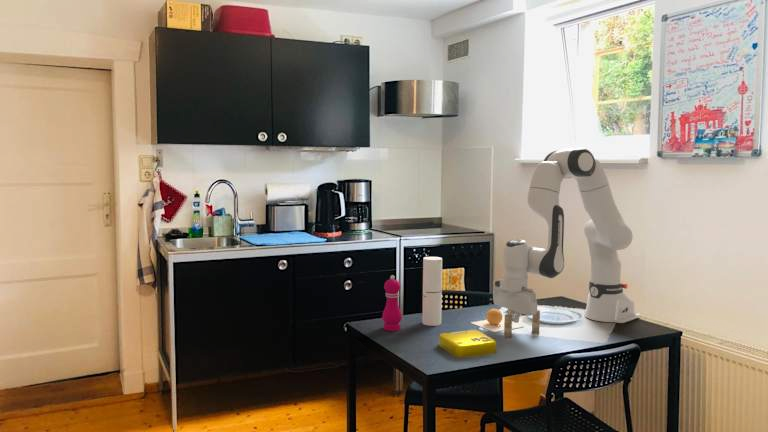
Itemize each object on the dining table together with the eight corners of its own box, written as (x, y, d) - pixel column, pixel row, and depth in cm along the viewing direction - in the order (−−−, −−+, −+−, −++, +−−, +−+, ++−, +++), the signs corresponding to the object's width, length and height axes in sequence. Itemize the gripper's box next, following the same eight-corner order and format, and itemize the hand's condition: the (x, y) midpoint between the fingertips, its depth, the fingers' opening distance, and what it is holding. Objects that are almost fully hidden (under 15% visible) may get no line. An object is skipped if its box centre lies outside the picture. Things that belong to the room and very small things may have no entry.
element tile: (475, 341, 233) (475, 327, 233) (498, 354, 219) (498, 340, 219) (437, 345, 228) (437, 332, 227) (457, 359, 214) (458, 345, 213)
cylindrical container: (435, 326, 249) (436, 260, 246) (418, 323, 253) (419, 258, 250) (444, 322, 255) (445, 257, 252) (427, 319, 259) (428, 255, 256)
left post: (508, 335, 238) (508, 313, 237) (513, 337, 236) (513, 315, 235) (502, 336, 237) (503, 314, 236) (507, 338, 235) (507, 316, 234)
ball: (502, 328, 252) (494, 318, 257) (507, 315, 250) (499, 305, 254) (489, 328, 250) (481, 318, 254) (494, 315, 247) (486, 305, 252)
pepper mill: (389, 332, 241) (390, 278, 239) (378, 327, 247) (378, 274, 245) (405, 329, 245) (406, 275, 243) (393, 324, 251) (394, 272, 249)
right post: (535, 330, 245) (536, 309, 244) (540, 332, 242) (541, 311, 241) (530, 331, 243) (531, 310, 242) (535, 333, 241) (536, 311, 240)
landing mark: (499, 318, 261) (499, 317, 261) (523, 327, 249) (523, 326, 249) (470, 323, 254) (470, 322, 254) (494, 332, 242) (494, 331, 242)
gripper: (541, 289, 234) (541, 327, 236) (503, 278, 252) (502, 314, 254) (528, 291, 231) (527, 330, 233) (490, 280, 249) (489, 316, 250)
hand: (514, 321), depth 243 cm, fingers closed
